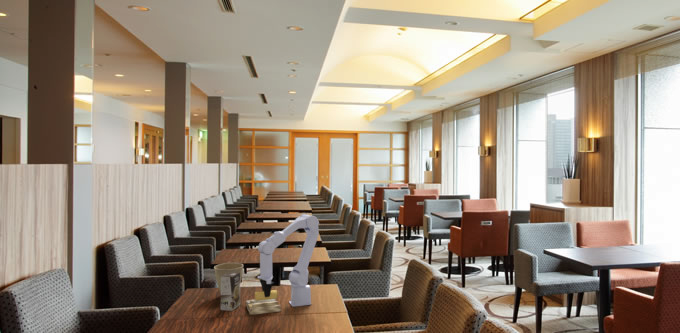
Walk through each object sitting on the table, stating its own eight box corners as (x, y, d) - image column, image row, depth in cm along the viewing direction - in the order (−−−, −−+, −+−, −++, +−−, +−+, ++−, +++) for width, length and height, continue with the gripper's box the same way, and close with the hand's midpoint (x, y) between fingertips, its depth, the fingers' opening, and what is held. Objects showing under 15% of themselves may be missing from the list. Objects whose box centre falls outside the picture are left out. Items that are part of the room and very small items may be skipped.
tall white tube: (274, 304, 223) (274, 296, 222) (275, 307, 219) (275, 298, 219) (253, 306, 219) (253, 298, 219) (254, 309, 216) (254, 301, 215)
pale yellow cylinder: (276, 298, 216) (275, 289, 217) (277, 299, 212) (277, 290, 213) (255, 300, 213) (254, 291, 214) (256, 301, 209) (255, 292, 210)
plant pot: (221, 291, 244) (220, 262, 244) (247, 292, 242) (247, 263, 242) (209, 300, 229) (209, 268, 229) (237, 301, 227) (237, 269, 227)
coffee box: (232, 311, 212) (232, 276, 212) (220, 310, 214) (219, 276, 214) (241, 305, 221) (240, 272, 221) (228, 304, 223) (228, 271, 222)
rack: (275, 302, 224) (275, 296, 224) (280, 311, 212) (280, 304, 212) (246, 306, 220) (246, 299, 220) (250, 314, 207) (250, 308, 207)
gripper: (255, 264, 218) (255, 292, 219) (260, 270, 205) (260, 300, 205) (269, 263, 221) (270, 290, 221) (275, 269, 207) (275, 299, 207)
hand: (266, 295), depth 213 cm, fingers closed on pale yellow cylinder, 4 cm apart
